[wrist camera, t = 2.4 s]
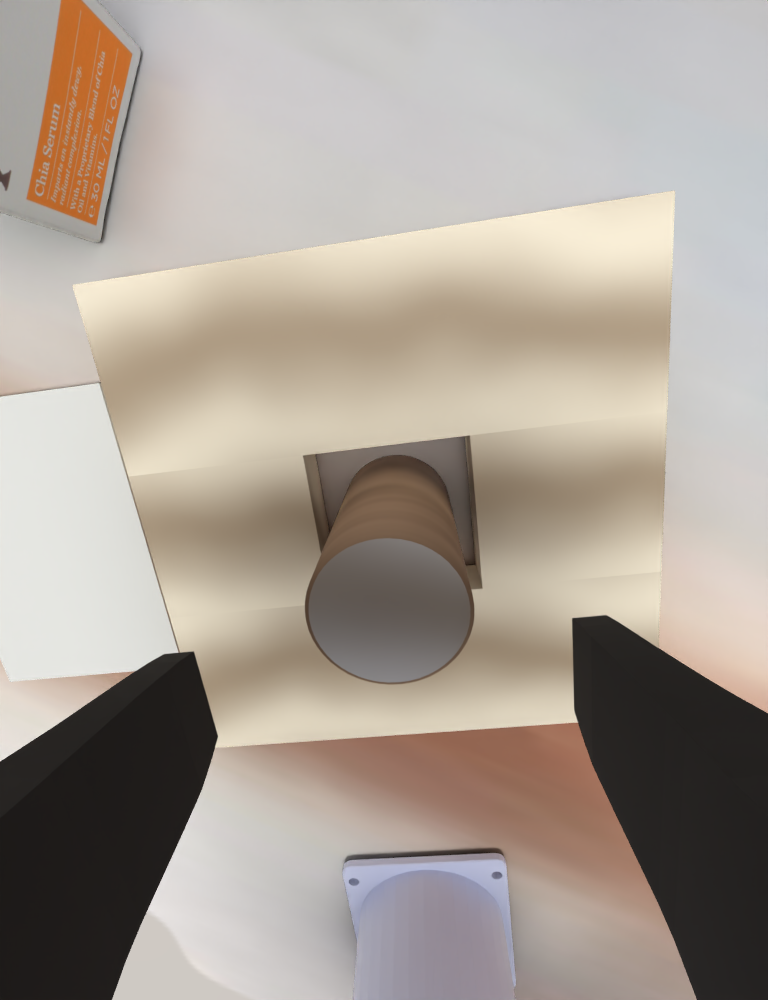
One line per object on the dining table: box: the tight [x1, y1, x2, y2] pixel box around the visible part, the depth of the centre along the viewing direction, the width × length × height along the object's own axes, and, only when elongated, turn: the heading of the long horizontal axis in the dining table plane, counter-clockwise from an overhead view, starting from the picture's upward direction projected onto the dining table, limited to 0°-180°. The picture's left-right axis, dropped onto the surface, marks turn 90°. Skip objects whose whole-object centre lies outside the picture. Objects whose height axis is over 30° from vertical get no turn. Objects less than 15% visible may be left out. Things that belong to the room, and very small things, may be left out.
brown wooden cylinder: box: [305, 455, 474, 685], centre depth 16 cm, size 4×4×8 cm
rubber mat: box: [0, 383, 180, 682], centre depth 20 cm, size 12×8×1 cm, turn 8°
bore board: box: [72, 191, 675, 748], centre depth 19 cm, size 18×18×2 cm
